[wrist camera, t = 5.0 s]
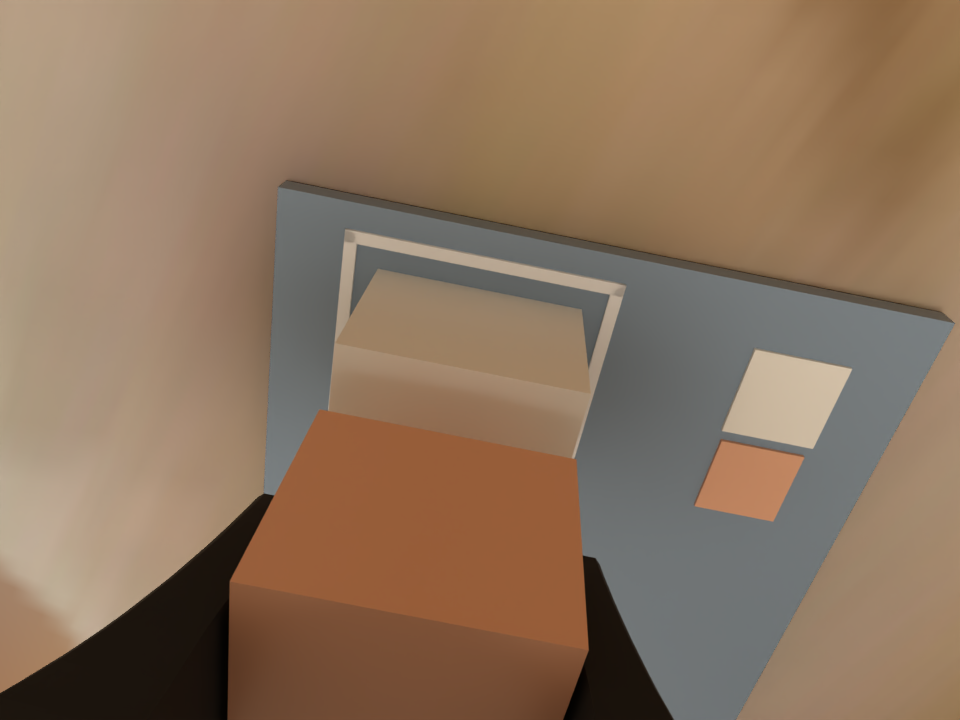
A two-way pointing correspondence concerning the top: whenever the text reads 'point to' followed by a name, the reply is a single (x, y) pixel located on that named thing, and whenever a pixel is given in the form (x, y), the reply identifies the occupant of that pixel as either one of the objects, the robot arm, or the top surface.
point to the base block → (464, 363)
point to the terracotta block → (410, 582)
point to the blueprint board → (645, 412)
